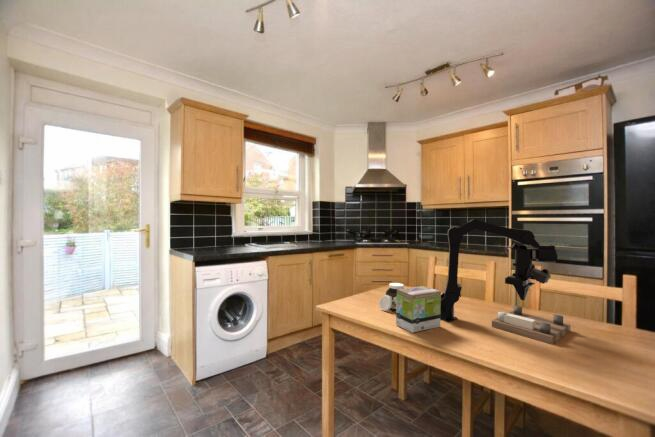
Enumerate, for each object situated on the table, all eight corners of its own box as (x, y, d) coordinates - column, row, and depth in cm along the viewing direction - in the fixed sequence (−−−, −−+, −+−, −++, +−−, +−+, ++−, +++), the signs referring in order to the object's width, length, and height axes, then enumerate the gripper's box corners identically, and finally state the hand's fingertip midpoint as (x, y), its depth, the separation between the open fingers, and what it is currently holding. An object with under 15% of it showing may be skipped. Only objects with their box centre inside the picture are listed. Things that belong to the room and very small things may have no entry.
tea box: (413, 334, 109) (413, 294, 109) (395, 325, 118) (395, 288, 118) (441, 327, 116) (441, 290, 116) (422, 319, 125) (422, 284, 125)
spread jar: (409, 308, 140) (409, 284, 139) (401, 315, 130) (401, 289, 130) (385, 304, 146) (385, 281, 146) (376, 310, 136) (376, 285, 136)
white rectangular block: (496, 320, 116) (496, 312, 116) (500, 318, 118) (500, 311, 118) (531, 330, 106) (531, 321, 106) (535, 327, 108) (535, 319, 108)
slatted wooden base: (552, 344, 100) (552, 328, 100) (491, 326, 116) (491, 312, 116) (570, 330, 112) (570, 316, 112) (513, 316, 128) (513, 303, 128)
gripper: (538, 266, 104) (537, 309, 104) (556, 261, 115) (555, 301, 115) (504, 262, 113) (503, 302, 113) (524, 258, 124) (523, 294, 124)
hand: (522, 300), depth 116 cm, fingers closed
